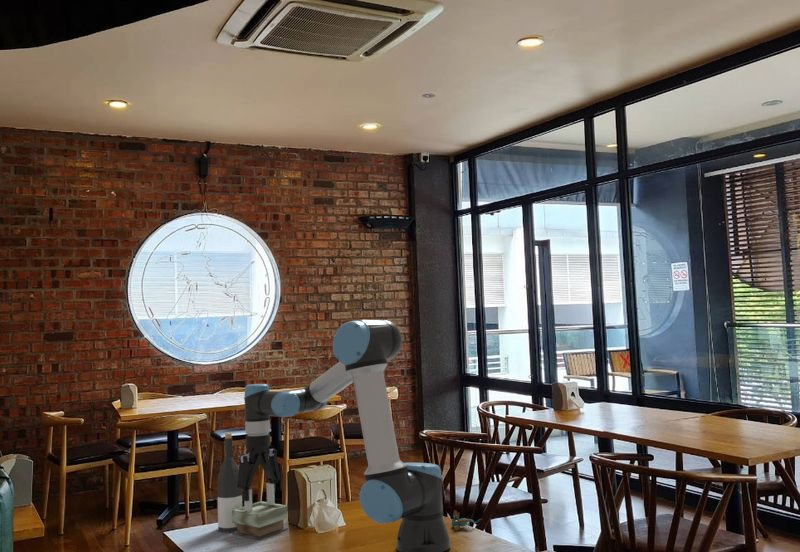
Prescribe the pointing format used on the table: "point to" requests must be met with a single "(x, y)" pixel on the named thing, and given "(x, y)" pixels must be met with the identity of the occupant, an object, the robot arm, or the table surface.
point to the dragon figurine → (460, 521)
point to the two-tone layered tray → (260, 520)
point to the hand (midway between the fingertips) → (259, 507)
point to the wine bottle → (228, 489)
